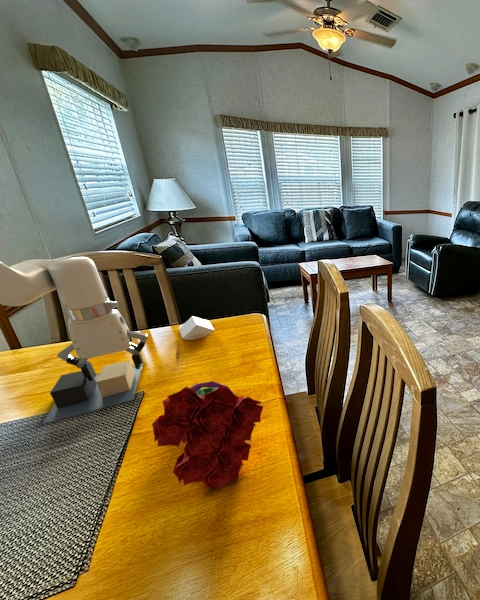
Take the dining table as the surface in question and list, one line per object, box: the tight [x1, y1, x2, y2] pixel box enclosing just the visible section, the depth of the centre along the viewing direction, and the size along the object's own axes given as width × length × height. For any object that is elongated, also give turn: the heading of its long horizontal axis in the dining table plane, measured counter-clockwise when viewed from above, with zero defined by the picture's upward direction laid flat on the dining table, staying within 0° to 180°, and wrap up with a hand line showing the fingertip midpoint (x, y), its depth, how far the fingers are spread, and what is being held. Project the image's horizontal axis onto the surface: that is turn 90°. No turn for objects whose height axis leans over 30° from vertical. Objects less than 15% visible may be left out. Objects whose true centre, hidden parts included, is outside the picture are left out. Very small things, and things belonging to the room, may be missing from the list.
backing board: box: [41, 363, 144, 425], centre depth 82 cm, size 16×18×1 cm
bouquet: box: [151, 380, 264, 491], centre depth 67 cm, size 20×16×30 cm
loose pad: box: [96, 360, 135, 397], centre depth 83 cm, size 6×8×4 cm
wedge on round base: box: [178, 315, 215, 341], centre depth 110 cm, size 9×7×13 cm
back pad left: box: [49, 370, 96, 408], centre depth 80 cm, size 6×8×4 cm
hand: (116, 372), depth 83 cm, fingers open, 9 cm apart
